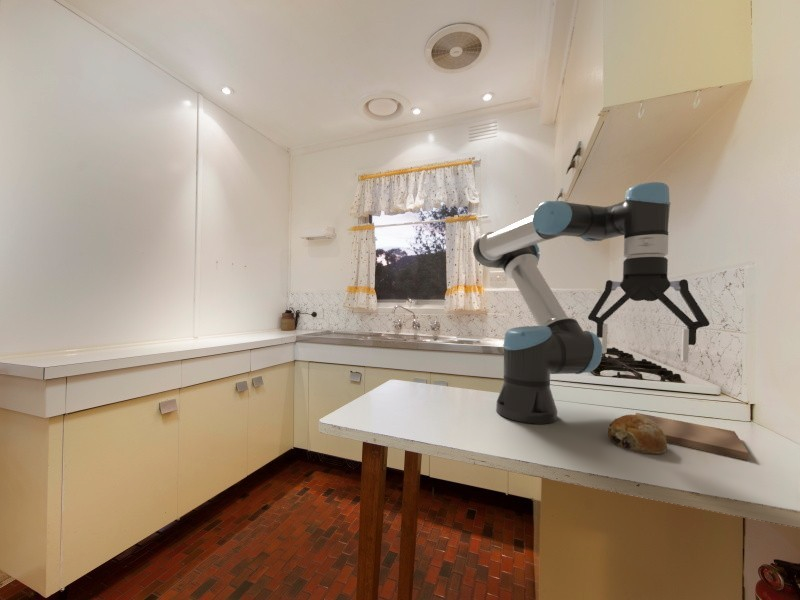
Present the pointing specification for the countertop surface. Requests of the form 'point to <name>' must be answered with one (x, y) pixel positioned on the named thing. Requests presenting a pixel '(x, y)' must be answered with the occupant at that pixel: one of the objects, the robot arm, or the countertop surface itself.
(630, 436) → the bread roll
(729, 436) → the cutting board
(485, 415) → the countertop surface
